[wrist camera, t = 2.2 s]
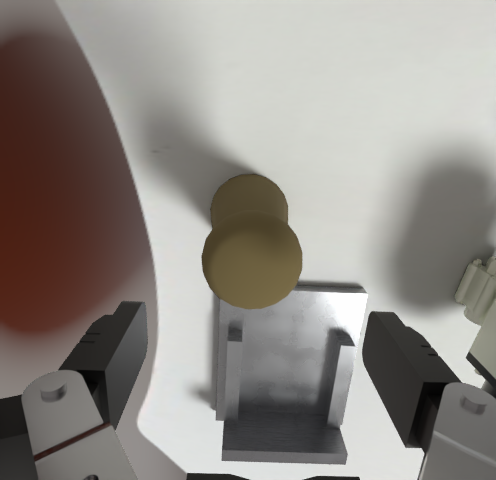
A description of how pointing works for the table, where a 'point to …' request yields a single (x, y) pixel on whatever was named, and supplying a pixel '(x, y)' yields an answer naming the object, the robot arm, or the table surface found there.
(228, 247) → the cork
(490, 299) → the pneumatic valve
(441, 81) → the table surface
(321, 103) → the table surface
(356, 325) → the bracket
